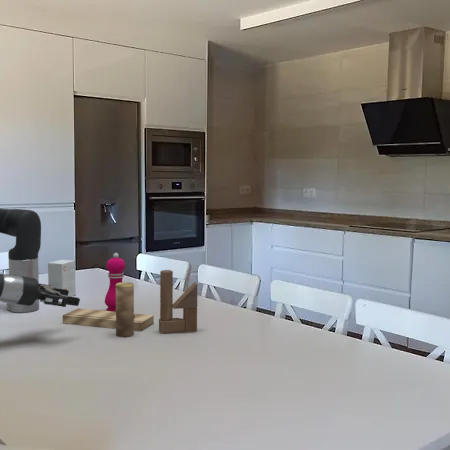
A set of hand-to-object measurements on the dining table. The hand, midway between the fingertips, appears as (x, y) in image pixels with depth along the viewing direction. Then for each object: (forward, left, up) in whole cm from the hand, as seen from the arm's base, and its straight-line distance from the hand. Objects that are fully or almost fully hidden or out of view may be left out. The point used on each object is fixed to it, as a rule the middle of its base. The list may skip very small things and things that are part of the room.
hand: (73, 297), depth 160 cm
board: (+4, +13, -10) cm, 17 cm away
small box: (-29, +40, -11) cm, 50 cm away
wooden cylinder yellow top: (+14, +5, -10) cm, 18 cm away
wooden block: (+27, +12, -11) cm, 32 cm away
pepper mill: (+1, +24, -11) cm, 26 cm away
